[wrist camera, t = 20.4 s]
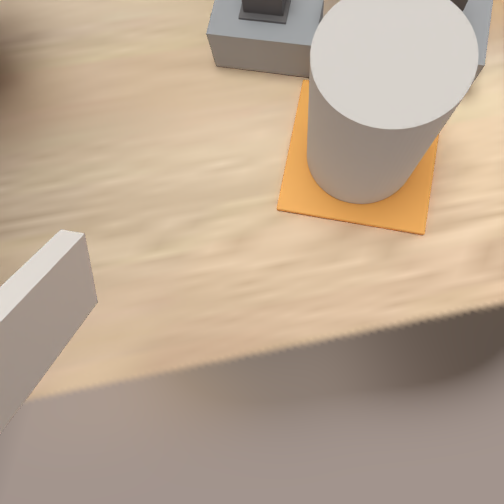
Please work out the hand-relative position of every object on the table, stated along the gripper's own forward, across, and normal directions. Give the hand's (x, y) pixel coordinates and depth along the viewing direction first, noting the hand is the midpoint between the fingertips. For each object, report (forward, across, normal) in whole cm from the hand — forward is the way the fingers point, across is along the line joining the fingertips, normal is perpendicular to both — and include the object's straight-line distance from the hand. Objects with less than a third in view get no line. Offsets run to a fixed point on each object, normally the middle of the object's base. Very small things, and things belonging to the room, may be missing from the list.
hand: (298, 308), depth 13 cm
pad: (+24, +3, -5) cm, 24 cm away
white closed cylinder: (+23, +3, -4) cm, 24 cm away
